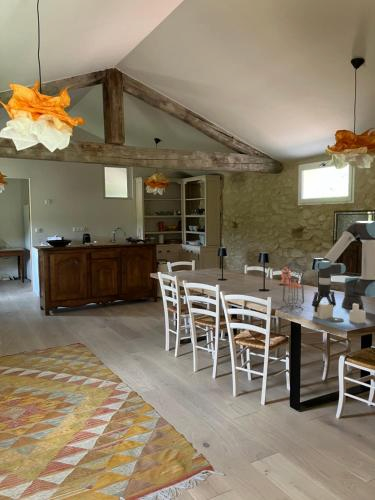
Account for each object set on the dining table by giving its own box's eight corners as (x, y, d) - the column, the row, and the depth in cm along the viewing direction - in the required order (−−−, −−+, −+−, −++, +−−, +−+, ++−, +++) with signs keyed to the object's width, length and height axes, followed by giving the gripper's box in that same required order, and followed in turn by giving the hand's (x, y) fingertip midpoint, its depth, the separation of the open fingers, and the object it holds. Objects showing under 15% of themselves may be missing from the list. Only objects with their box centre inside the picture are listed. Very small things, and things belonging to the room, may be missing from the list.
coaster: (338, 318, 264) (338, 316, 264) (347, 321, 254) (347, 320, 254) (324, 318, 261) (324, 317, 261) (333, 322, 252) (333, 321, 252)
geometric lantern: (289, 310, 287) (290, 263, 285) (278, 306, 302) (279, 261, 300) (308, 309, 291) (309, 262, 289) (296, 304, 306) (297, 260, 304)
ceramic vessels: (310, 290, 370) (310, 270, 368) (289, 291, 366) (289, 271, 364) (293, 284, 404) (293, 266, 403) (274, 285, 400) (274, 267, 399)
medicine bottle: (356, 320, 258) (357, 302, 257) (365, 322, 252) (366, 304, 251) (348, 321, 256) (349, 303, 255) (357, 323, 249) (357, 305, 248)
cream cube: (323, 315, 272) (324, 302, 272) (332, 318, 264) (333, 304, 263) (313, 316, 269) (313, 303, 268) (321, 319, 261) (322, 305, 260)
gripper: (335, 282, 270) (335, 314, 272) (306, 283, 265) (306, 315, 267) (342, 284, 263) (341, 316, 264) (312, 285, 258) (311, 318, 260)
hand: (323, 316), depth 266 cm, fingers closed on cream cube, 9 cm apart
